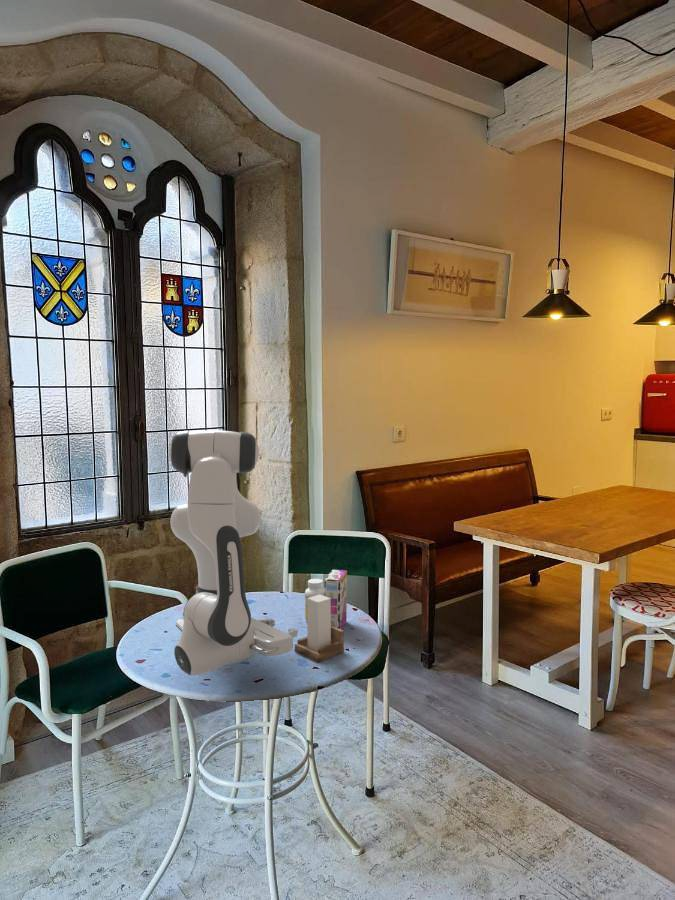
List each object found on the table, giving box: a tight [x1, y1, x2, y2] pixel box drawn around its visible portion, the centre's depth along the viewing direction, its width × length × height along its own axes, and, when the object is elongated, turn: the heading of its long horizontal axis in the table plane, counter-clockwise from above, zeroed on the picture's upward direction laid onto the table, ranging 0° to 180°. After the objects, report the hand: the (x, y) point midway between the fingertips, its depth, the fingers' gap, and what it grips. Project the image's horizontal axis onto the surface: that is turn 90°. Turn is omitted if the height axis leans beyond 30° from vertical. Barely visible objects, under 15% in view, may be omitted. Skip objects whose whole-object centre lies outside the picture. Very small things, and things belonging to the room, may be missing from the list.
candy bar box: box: [323, 569, 348, 630], centre depth 189 cm, size 11×5×16 cm, turn 168°
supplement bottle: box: [304, 578, 324, 623], centre depth 195 cm, size 7×7×13 cm
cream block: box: [306, 595, 331, 653], centre depth 173 cm, size 4×5×14 cm
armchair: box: [294, 626, 345, 663], centre depth 173 cm, size 10×10×6 cm
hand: (284, 626), depth 164 cm, fingers open, 8 cm apart
